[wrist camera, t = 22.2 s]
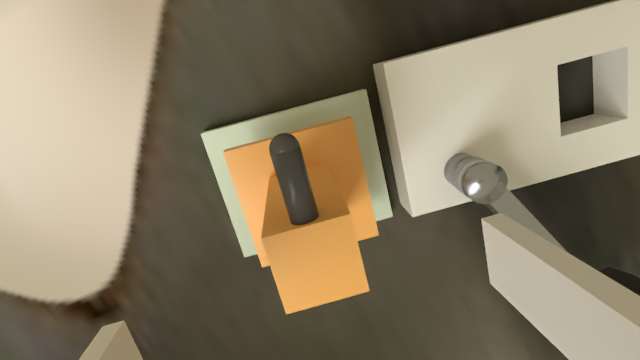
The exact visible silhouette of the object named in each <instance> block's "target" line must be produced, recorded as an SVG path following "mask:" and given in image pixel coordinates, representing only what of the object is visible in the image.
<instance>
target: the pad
mask: <svg viewBox="0 0 640 360" xmlns="http://www.w3.org/2000/svg"><path fill="white" fill-rule="evenodd" d="M347 116H351V117H352V118H353V122H354V126H355V131H356V135H357V139H358V144H359V148H360V153H361V157H362V162H363V166H364V171H365V175H366V179H367V184H368V188H369V193H370V197H371V202H372V206H373V211H374V215H375V220H376V221H379V220H383V219H386V218H390V217H393V215H392V210H391V205H390V200H389V196H388V191H387V186H386V181H385V177H384V172H383V167H382V162H381V157H380V153H379V148H378V143H377V138H376V133H375V129H374V124H373V119H372V114H371V109H370V105H369V100H368V95H367V90H366V89H361V90H357V91H354V92H350V93H346V94H342V95H339V96H335V97H331V98H328V99H324V100H320V101H316V102H313V103H309V104H305V105H301V106H298V107H294V108H290V109H286V110H283V111H279V112H275V113H271V114H268V115H264V116H260V117H256V118H253V119H249V120H245V121H241V122H238V123H234V124H230V125H227V126H223V127H219V128H215V129H212V130H208V131H204V132H202V133H201V136H202V139H203V142H204V145H205V148H206V150H207V153H208V156H209V159H210V162H211V165H212V167H213V170H214V173H215V176H216V179H217V181H218V184H219V187H220V190H221V193H222V196H223V198H224V201H225V204H226V207H227V210H228V212H229V215H230V218H231V221H232V224H233V227H234V229H235V232H236V235H237V238H238V241H239V244H240V246H241V249H242V252H243V255H244V257H248V256H252V255H255V254H257V251H256V248H255V245H254V242H253V239H252V236H251V233H250V231H249V228H248V225H247V222H246V219H245V216H244V213H243V210H242V207H241V204H240V201H239V198H238V195H237V192H236V190H235V187H234V184H233V181H232V178H231V175H230V172H229V169H228V166H227V163H226V160H225V157H224V154H223V152H224V150H225V149H228V148H232V147H235V146H239V145H243V144H247V143H250V142H254V141H258V140H261V139H265V138H269V137H273V136H276V135H278V134H280V133H288V132H291V131H295V130H299V129H302V128H306V127H310V126H314V125H317V124H321V123H325V122H328V121H332V120H336V119H340V118H343V117H347Z"/></svg>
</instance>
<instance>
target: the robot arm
mask: <svg viewBox="0 0 640 360" xmlns="http://www.w3.org/2000/svg"><path fill="white" fill-rule="evenodd" d="M481 221H482V228H483V235H484V243H485V250H486V257H487V265H488V272H489V279H490V284H491V285H492V286H493V287H494V288H495V289H496V290H497V291H499V292H500V293H501V294H502V295H503V296H504V297H505V298H506V299H507V300H508V301H509V302H510V303H511V304H512V305H513V306H514V307H515V308H516V309H517V310H518V311H519V312H520V313H521V314H522V315H523V316H524V317H525V318H526V319H527V320H529V321H530V322H531V323H532V324H533V325H534V326H535V327H536V328H537V329H538V330H539V331H540V332H541V333H542V334H543V335H544V336H545V337H546V338H547V339H548V340H549V341H550V342H551V343H552V344H553V345H554V346H555V347H556V348H557V349H559V350H560V351H561V352H562V353H563V354H564V355H565V356H566V357H567V358H568V359H569V360H640V278H638V277H636V276H634V275H632V274H629V273H625V272H622V271H619V270H616V269H612V268H606V269H602V270H599V271H597V270H596V269H594V268H592V267H591V266H589V265H587V264H586V263H584V262H582V261H581V260H579V259H577V258H576V257H574V256H572V255H571V254H569V253H567V252H566V251H564V250H562V249H561V248H559V247H557V246H556V245H554V244H552V243H551V242H549V241H547V240H546V239H544V238H542V237H541V236H539V235H537V234H536V233H534V232H532V231H531V230H529V229H527V228H526V227H524V226H522V225H521V224H519V223H517V222H516V221H514V220H512V219H511V218H509V217H507V216H506V215H504V214H502V213H499V214H495V215H492V216H488V217H485V218H481ZM79 360H143V358H142V356H141V354H140V352H139V350H138V348H137V346H136V344H135V342H134V340H133V338H132V336H131V334H130V332H129V330H128V327H127V325H126V323H125V321H124V320H123V321H120V322H116V323H113V324H109V325H106V326H102V328H101V329H100V331H99V332H98V333H97V335H96V336H95V338H94V339H93V340H92V342H91V343H90V345H89V346H88V347H87V349H86V350H85V352H84V353H83V354H82V356H81V357H80V359H79Z"/></svg>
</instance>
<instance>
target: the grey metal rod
mask: <svg viewBox="0 0 640 360" xmlns="http://www.w3.org/2000/svg"><path fill="white" fill-rule="evenodd" d="M453 183H454V186H455V187H456V189H457V190H458V191H460V192H461V193H463V194H464V195H466V196H467V197H468V198H470V199H471V200H473V201H474V202H476V203H479V204H485V205H486V206H487V207H488V208H489V209H490V210H491V211H492V212H493V213H494V214H499V213H502V214H504V215H506V216H507V217H509V218H511V219H512V220H514V221H516V222H517V223H519V224H521V225H522V226H524V227H526V228H527V229H529V230H531V231H532V232H534V233H536V234H537V235H539V236H541V237H542V238H544V239H546V240H547V241H549V242H551V243H552V244H554V245H556V246H557V247H559V248H561V249H562V250H564V251H566V250H565V249H564V248H563V247H562V246H561V245H560V244H559V243H558V242H557V240H556V239H555V238H554V237H553V236H552V235H551V234H550V233H549V232H548V231H547V230H546V229H545V228H544V227H543V226H542V225H541V223H540V222H539V221H538V220H537V219H536V218H535V217H534V216H533V215H532V214H531V213H530V212H529V211H528V210H527V209H526V208H525V207H524V205H523V204H522V203H521V202H520V201H519V200H518V199H517V198H516V197H515V196H514V195H513V194H512V193H511V192H510V191H509V190H508V188H507V183H508V178H507V174H506V172H505V171H504V169H503V168H502V167H500V166H498V165H496V164H494V163H491V162H489V161H487V160H484V159H482V158H480V157H469V158H466V159H464V160H462V161H461V162H460V163H459V164H458V165H457V166H456V168H455V170H454V173H453ZM566 252H567V251H566ZM567 253H568V252H567Z"/></svg>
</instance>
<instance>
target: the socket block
mask: <svg viewBox="0 0 640 360" xmlns="http://www.w3.org/2000/svg"><path fill="white" fill-rule="evenodd" d="M589 56H592V61H593V100H594V114H592V115H588V116H584V117H581V118H577V119H573V120H570V121H566V122H562V123H560V109H559V91H558V72H557V65H559V64H563V63H567V62H571V61H574V60H578V59H582V58H586V57H589ZM372 65H373V70H374V75H375V80H376V85H377V90H378V95H379V100H380V105H381V110H382V115H383V120H384V125H385V130H386V135H387V140H388V145H389V150H390V155H391V160H392V165H393V170H394V175H395V180H396V185H397V190H398V195H399V200H400V204H401V205H402V206H403V207H404V208H405V209H406V210H407V212H408V213H409V214H410V215H411V216H412V217H415V216H419V215H423V214H426V213H430V212H434V211H437V210H441V209H444V208H448V207H452V206H455V205H459V204H463V203H466V202H470V201H473V200H471V199H470V198H468V197H467V196H466V195H464V194H463V193H461V192H460V191H458V190H457V189H456V187H455V186H454V183H453V173H454V170H455V168H456V166H457V165H458V164H459V163H460V162H461V161H462V160H464V159H466V158H469V157H480V158H482V159H484V160H487V161H489V162H491V163H494V164H496V165H498V166H500V167H502V168H503V169H504V171H505V172H506V174H507V178H508V183H507V188H508V190H509V191H510V190H514V189H517V188H521V187H524V186H528V185H532V184H535V183H539V182H543V181H546V180H550V179H554V178H557V177H561V176H564V175H568V174H572V173H575V172H579V171H583V170H586V169H590V168H594V167H597V166H601V165H604V164H608V163H612V162H615V161H619V160H623V159H626V158H630V157H634V156H637V155H640V0H613V1H609V2H605V3H602V4H598V5H594V6H590V7H587V8H583V9H579V10H575V11H572V12H568V13H564V14H560V15H556V16H553V17H549V18H545V19H541V20H538V21H534V22H530V23H526V24H523V25H519V26H515V27H511V28H508V29H504V30H500V31H496V32H493V33H489V34H485V35H481V36H478V37H474V38H470V39H466V40H463V41H459V42H455V43H451V44H448V45H444V46H440V47H436V48H432V49H429V50H425V51H421V52H417V53H414V54H410V55H406V56H402V57H399V58H395V59H391V60H387V61H384V62H380V63H376V64H372Z"/></svg>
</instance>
